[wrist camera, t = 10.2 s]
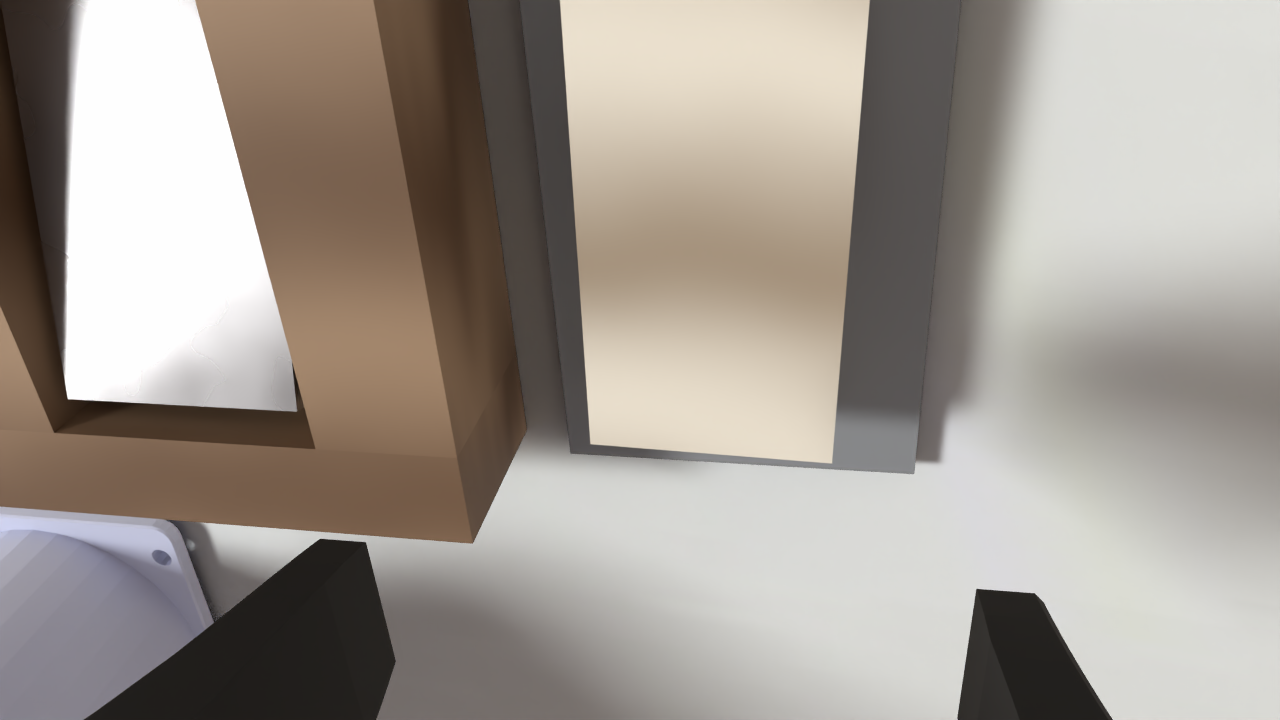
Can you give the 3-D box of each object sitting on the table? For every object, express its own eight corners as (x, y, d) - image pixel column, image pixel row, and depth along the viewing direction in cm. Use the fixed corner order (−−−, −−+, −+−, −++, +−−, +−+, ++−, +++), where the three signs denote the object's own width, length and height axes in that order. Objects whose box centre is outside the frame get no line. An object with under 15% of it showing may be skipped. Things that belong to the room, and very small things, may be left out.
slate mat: (913, 459, 21) (914, 474, 21) (575, 439, 22) (570, 453, 22) (993, -365, 14) (997, -368, 14) (493, -323, 15) (482, -325, 15)
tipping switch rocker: (-3, -124, 18) (-22, -128, 17) (252, -137, 17) (238, -142, 16) (82, 392, 20) (67, 399, 20) (307, 404, 19) (297, 411, 19)
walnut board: (-203, -323, 17) (-446, -339, 14) (414, -382, 15) (297, -416, 12) (86, 405, 25) (-28, 504, 21) (526, 430, 23) (473, 543, 19)
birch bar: (586, -86, 16) (555, -67, 15) (872, -89, 16) (875, -69, 14) (611, 387, 21) (590, 444, 19) (833, 403, 20) (832, 463, 18)
